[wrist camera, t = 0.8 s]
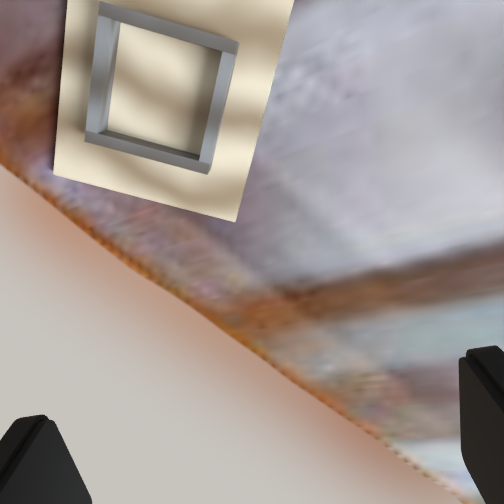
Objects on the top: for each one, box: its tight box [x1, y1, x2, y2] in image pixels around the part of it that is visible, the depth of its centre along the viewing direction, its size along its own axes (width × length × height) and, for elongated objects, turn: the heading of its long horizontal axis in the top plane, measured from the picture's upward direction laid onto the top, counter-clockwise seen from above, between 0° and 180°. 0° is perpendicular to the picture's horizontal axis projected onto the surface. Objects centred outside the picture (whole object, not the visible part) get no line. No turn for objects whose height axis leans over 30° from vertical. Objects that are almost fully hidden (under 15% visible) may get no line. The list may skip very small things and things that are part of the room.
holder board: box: [53, 0, 294, 222], centre depth 37 cm, size 20×18×4 cm
